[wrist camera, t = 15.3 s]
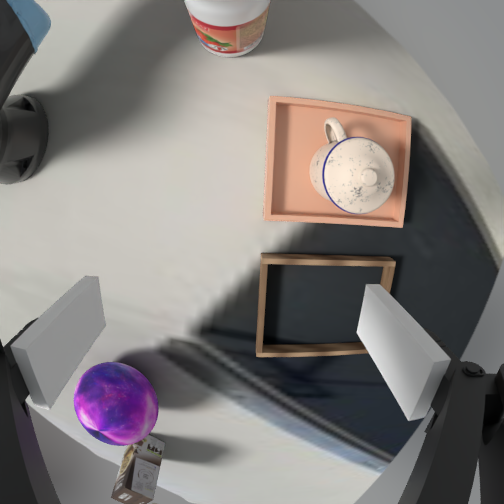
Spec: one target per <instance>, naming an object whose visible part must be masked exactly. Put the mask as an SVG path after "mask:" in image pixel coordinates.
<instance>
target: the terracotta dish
mask: <svg viewBox="0 0 504 504" xmlns="http://www.w3.org/2000/svg"><path fill="white" fill-rule="evenodd" d="M331 117H334V118H336V119H337V120H338V121H339V122H340V123H341V125H342V127H343V129H344V131H345V134H346V136H347V138H350V137H365V138H368V139H371V140H373V141H375V142H376V143H378V144H379V145H380V146H381V147H382V148H383V149H384V150H385V151H386V152H387V153H388V155H389V157H390V159H391V161H392V164H393V167H394V174H395V179H394V186H393V189H392V192H391V194H390V196H389V198H388V199H387V201H386V202H385V203H384V204H383V205H382V206H381V207H379V208H378V209H376V210H374V211H372V212H370V213H366V214H351V213H348V212H345V211H343V210H341V209H340V208H338V207H337V206H336V205H335V204H334V203H333V202H331V201H329V200H327V199H325V198H323V197H322V196H321V195H320V194H319V193H318V192H317V191H316V190H315V188H314V187H313V185H312V183H311V179H310V173H309V170H310V163H311V160H312V158H313V156H314V154H315V153H316V151H317V150H318V149H319V148H321V147H322V146H323V145H325V144H327V143H328V140H327V138H326V134H325V130H324V123H325V121H326V119H328V118H331ZM410 143H411V117H410V116H406V115H402V114H397V113H392V112H387V111H383V110H377V109H372V108H367V107H361V106H355V105H349V104H342V103H335V102H328V101H320V100H311V99H302V98H291V97H279V96H270V97H269V99H268V119H267V142H266V164H265V186H264V207H263V218H264V220H268V221H293V222H315V223H334V224H352V225H369V226H385V227H399V228H403V221H404V213H405V205H406V196H407V186H408V174H409V161H410Z"/></svg>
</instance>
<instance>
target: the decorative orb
mask: <svg viewBox="0 0 504 504" xmlns="http://www.w3.org/2000/svg"><path fill="white" fill-rule="evenodd" d="M74 407H75V411H76V414H77V417H78V419H79V421H80V422H81V424H82V425H83V427H84V428H85V429H86V430H87V431H88V432H89V433H90V434H91V435H92V436H93V437H95V438H96V439H98V440H100V441H102V442H104V443H107V444H111V445H117V446H125V445H131V444H134V443H136V442H139V441H140V440H142V439H144V438H145V437H146V436H147V435H148V434H149V433H150V432H151V430H152V429H153V427H154V426H155V423H156V421H157V417H158V400H157V396H156V393H155V390H154V388H153V387H152V385H151V383H150V382H149V381H148V379H147V378H146V377H145V376H144V375H143V374H142V373H140V372H139V371H138V370H136V369H135V368H133V367H131V366H128V365H126V364H122V363H117V362H106V363H101V364H98V365H95V366H93V367H92V368H90V369H89V370H87V371H86V372H85V373H84V374H83V375H82V376H81V378H80V379H79V381H78V383H77V385H76V388H75V392H74Z"/></svg>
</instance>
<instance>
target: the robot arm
mask: <svg viewBox="0 0 504 504" xmlns="http://www.w3.org/2000/svg"><path fill="white" fill-rule="evenodd" d="M50 26H51V20H50V18H49V16H48V14H47V13H46V12H45V11H44V10H43V9H42V8H41V7H40V6H39V5H38V4H37V3H36V2H35V1H34V0H0V183H1V184H14V183H18V182H22V181H24V180H25V179H27V178H28V177H30V176H31V175H32V174H33V173H34V171H35V170H36V169H37V167H38V166H39V164H40V162H41V160H42V158H43V155H44V152H45V149H46V145H47V139H48V123H47V118H46V114H45V111H44V109H43V107H42V106H41V104H40V103H39V102H38V101H37V100H36V99H34V98H32V97H29V96H24V95H12V96H9V94H10V92H11V90H12V88H13V87H14V85H15V83H16V81H17V80H18V78H19V76H20V75H21V73H22V71H23V70H24V68H25V67H26V65H27V63H28V62H29V60H30V59H31V57H32V56H33V54H35V53H36V52H37V50H38V47H39V45H40V43H41V42H42V40H43V39H44V37H45V36H46V34H47V33H48V31H49V29H50ZM8 96H9V97H8ZM105 326H106V323H105V317H104V311H103V305H102V299H101V293H100V286H99V278H98V277H96V276H84V277H83V278H82V279H81V280H80V281H79V282H78V283H76V284H75V285H74V286H73V287H72V288H71V289H70V290H69V291H67V292H66V293H65V294H64V295H63V296H62V297H61V298H60V299H59V300H57V301H56V302H55V303H54V304H53V305H52V306H51V307H50V308H49V309H48V310H47V311H46V312H44V313H43V314H42V315H41V316H40V317H39V318H37V319H35V320H33V321H31V322H29V323H28V324H27V325H26V326H25V327H24V328H23V330H21V331H20V332H19V333H17V335H15V336H14V337H13V338H12V339H11V340H10V341H9V342H8V343H7V344H6V345H5V346H4V347H3V346H2V343H1V340H0V504H61V503H60V501H59V498H58V496H57V494H56V491H55V489H54V487H53V484H52V481H51V479H50V476H49V474H48V471H47V469H46V466H45V463H44V460H43V457H42V454H41V451H40V448H39V445H38V441H37V438H36V435H35V432H34V427H33V424H32V420H31V416H30V412H29V408H28V405H27V403H26V401H25V399H26V398H27V396H28V395H29V394H30V396H31V399H32V401H33V403H34V405H35V406H38V407H42V408H45V409H48V410H50V409H51V407H52V406H53V404H54V402H55V401H56V399H57V398H58V396H59V395H60V393H61V391H62V390H63V388H64V387H65V385H66V384H67V382H68V380H69V379H70V377H71V376H72V374H73V373H74V371H75V370H76V368H77V367H78V365H79V364H80V362H81V361H82V359H83V358H84V356H85V355H86V353H87V352H88V350H89V349H90V348H91V346H92V345H93V343H94V342H95V340H96V339H97V337H98V336H99V335H100V333H101V332H102V330H103V329H104V328H105ZM357 334H358V336H359V337H360V339H361V341H362V342H363V344H364V346H365V347H366V349H367V350H368V352H369V354H370V355H371V357H372V359H373V360H374V362H375V364H376V366H377V367H378V369H379V371H380V372H381V374H382V376H383V377H384V379H385V381H386V382H387V384H388V386H389V388H390V389H391V391H392V393H393V395H394V396H395V398H396V400H397V402H398V403H399V405H400V407H401V409H402V410H403V412H404V414H405V416H406V417H407V419H408V421H410V420H415V419H419V418H423V417H425V416H426V414H427V412H428V410H429V408H430V406H431V407H432V408H433V410H434V411H435V413H434V415H433V417H432V419H431V421H430V423H429V425H428V426H427V428H426V430H425V432H426V433H427V434H426V437H425V440H424V443H423V446H422V449H421V451H420V454H419V456H418V459H417V461H416V464H415V466H414V469H413V471H412V474H411V476H410V478H409V481H408V483H407V485H406V487H405V490H404V492H403V494H402V496H401V498H400V500H399V502H398V504H468V501H469V497H470V493H471V489H472V485H473V481H474V476H475V471H476V466H477V461H478V459H479V474H480V493H481V504H504V364H502V365H501V367H500V369H499V371H498V373H497V374H486V373H485V371H484V369H483V368H482V367H480V366H479V365H477V364H475V363H473V362H467V361H465V362H461V361H460V360H459V359H458V358H457V357H456V355H455V354H454V353H453V352H452V351H451V350H450V349H449V348H448V347H446V345H445V344H444V343H443V342H441V339H440V338H439V337H438V336H437V335H436V334H435V333H433V332H431V331H430V330H428V329H426V328H422V327H421V326H420V325H419V324H418V323H417V322H416V321H415V320H414V319H413V318H412V317H411V316H410V314H409V313H408V312H407V311H406V310H405V309H404V308H403V307H402V306H401V305H400V304H399V303H398V302H397V301H396V300H395V299H394V298H393V297H392V296H391V295H390V294H389V293H388V292H387V291H386V290H385V289H384V288H383V287H382V286H381V285H380V284H366V289H365V294H364V299H363V305H362V310H361V315H360V319H359V324H358V329H357Z"/></svg>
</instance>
